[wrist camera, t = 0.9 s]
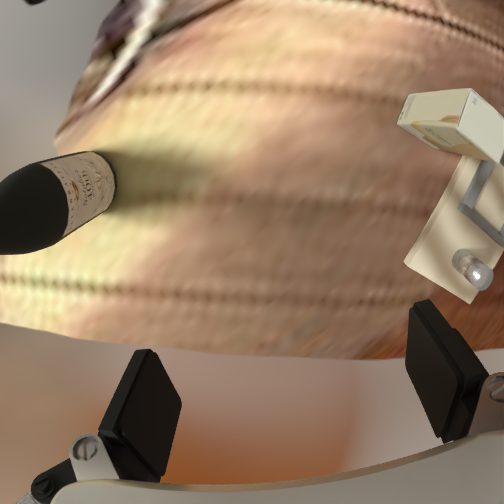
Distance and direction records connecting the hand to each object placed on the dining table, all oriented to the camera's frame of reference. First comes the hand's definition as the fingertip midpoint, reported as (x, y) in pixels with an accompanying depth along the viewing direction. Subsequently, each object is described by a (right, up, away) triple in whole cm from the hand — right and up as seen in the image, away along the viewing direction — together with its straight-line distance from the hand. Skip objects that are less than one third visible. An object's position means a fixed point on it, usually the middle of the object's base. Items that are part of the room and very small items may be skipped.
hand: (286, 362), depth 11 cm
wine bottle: (-21, +12, +24) cm, 34 cm away
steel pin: (+26, +3, +24) cm, 36 cm away
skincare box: (+19, +19, +20) cm, 33 cm away
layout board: (+29, +8, +24) cm, 38 cm away
